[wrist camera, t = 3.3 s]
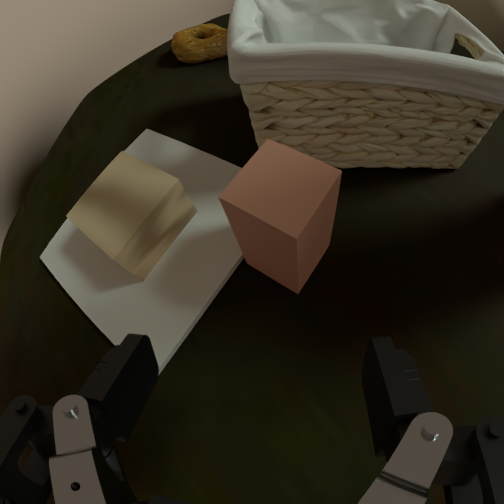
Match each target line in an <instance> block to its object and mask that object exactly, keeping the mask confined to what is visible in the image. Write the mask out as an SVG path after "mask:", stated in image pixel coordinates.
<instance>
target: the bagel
mask: <svg viewBox="0 0 504 504" xmlns="http://www.w3.org/2000/svg"><path fill="white" fill-rule="evenodd" d="M227 34H228V30H227V29H226V28H224V29H223V28H222V27H219V26H218V25H215V24H201V25H197V26H194V27H190V28H187V29H184V30H181V31H179V32H177V33H175V34H174V35H173V38H172V41H171V47H172V51H173V53H174V54H175V55H176V57H177V59H178V60H180V61H182V62H185V63H200V62H204V61H206V60H213V59H217V58H223V57H225V56H227V55H228V54H227Z"/></svg>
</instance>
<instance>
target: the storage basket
mask: <svg viewBox="0 0 504 504" xmlns="http://www.w3.org/2000/svg"><path fill="white" fill-rule="evenodd" d="M455 38H457V39H458V40H459V43H460V42H461V43H460V45H461V46H464V47H466V49H467V50H469V52H470V53H471V54H472V56H473V57H474V58H475V59H471V58H467V57H462V56H457V55H453V54H450V52H451V50H452V48H453V45H454V40H455ZM227 54H228V62H229V73H230V77H231V79H232V80H233V81H234V82H235V83H237V84H240V88H241V91H242V96H243V100H244V102H245V104H246V105H247V107H248V109H249V116H250V119H251V120H252V121H251V125H252V127H253V129H254V133H255V139H256V143H257V145H258V148H260V147H261V146H262V145H263V144H264V143H265V142H266V141H267V139H270V140H272V141H275V142H277V143H280V144H282V145H285V146H287V147H290V148H292V149H294V150H297V151H299V152H302V153H304V154H306V155H308V156H311V157H313V158H315V159H318V160H320V161H322V162H324V163H326V164H329V165H331V166H333V167H337V168H354V167H360V166H361V167H367V168H368V167H392V168H406V167H410V168H412V167H413V168H418V167H431V168H432V169H433V168H435V169H439V168H440V169H441V168H449V169H457V168H459V167H460V166H461V165H462V164H463V162H464V161H465V160H466V158H467V156H468V155H469V154H470V153H471V152H472V150H474V149H475V147H476V146H477V145H478V144H479V142H480V140H481V138H482V136H484V135H485V134H486V133H487V130H488V129H489V128H490V127H491V126H492V123H493V122H494V121H495V120H496V119H497V118H498V114H499V113H501V112H502V111H503V110H504V55H503V54H502V53H501V52H500V50H499V49H498V48H497V47H496V46H495V45H494V44H493V43H492V42H491V41H490V40H489V39H488V38H487V37H486V36H485V35H484V34H483V33H481V32H480V31H479V30H478V29H477V28H476V27H475V26H474V25H472V24H471V23H470V22H469V21H468V20H467V19H465V18H464V17H463V16H462V15H461V14H459V13H458V12H457V11H456V10H455V9H453V8H452V7H450V6H449V5H446V4H441V3H438V2H436V1H433V0H234V2H233V5H232V9H231V13H230V18H229V25H228V34H227Z"/></svg>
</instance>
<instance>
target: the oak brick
mask: <svg viewBox="0 0 504 504" xmlns="http://www.w3.org/2000/svg"><path fill="white" fill-rule="evenodd" d="M196 213H197V210H196V208H195V206H194V205H193V203H192V201H191V199H190V198H189V196H188V194H187V192H186V191H185V189H184V187H183V185H182V183H181V182H180V180H179V179H178V178H176V177H174V176H172V175H170V174H168V173H166V172H164V171H162V170H160V169H158V168H156V167H154V166H152V165H150V164H148V163H146V162H144V161H142V160H140V159H138V158H136V157H134V156H132V155H130V154H128V153H126V152H124V151H121V152H120V153H119V154H118V155H117V156H116V157H115V159H114V160H113V161H112V162H111V163H110V164H109V165H108V166H107V167H106V169H105V170H104V171H103V172H102V173H101V174H100V175H99V176H98V178H97V179H96V180H95V181H94V182H93V183H92V185H91V186H90V187H89V188H88V189H87V191H86V192H85V193H84V194H83V195H82V197H81V198H80V199H79V200H78V202H77V203H76V204H75V205H74V207H73V208H72V209H71V211H70V212H69V213H68V214H67V216H66V217H67V218H68V219H70V220H71V221H72V222H73V223H74V224H75V225H76V226H77V227H78V228H79V229H80V230H81V231H82V232H83V233H84V234H85V235H86V236H87V237H88V238H89V239H90V240H92V241H93V242H94V243H95V244H96V245H97V246H98V247H99V248H100V249H101V250H102V251H104V252H105V253H106V254H107V255H108V256H109V257H110V258H111V259H112V260H114V261H115V262H116V263H118V264H119V265H120V266H122V267H123V268H124V269H126V270H127V271H129V272H130V273H131V274H133V275H134V276H135V277H137V278H138V279H140V280H141V281H144V280H145V278H146V277H147V276H148V274H149V273H150V272H151V270H152V269H153V268H154V266H155V265H156V264H157V262H158V261H159V260H160V258H161V257H162V256H163V255H164V253H165V252H166V251H167V249H168V248H169V247H170V245H171V244H172V243H173V242H174V240H175V239H176V238H177V237H178V235H179V234H180V233H181V231H182V230H183V229H184V228H185V226H186V225H187V224H188V223H189V221H190V220H191V219H192V218H193V216H194V215H195V214H196Z"/></svg>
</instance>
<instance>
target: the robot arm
mask: <svg viewBox="0 0 504 504" xmlns="http://www.w3.org/2000/svg"><path fill="white" fill-rule="evenodd" d="M158 375H159V366H158V363H157V359H156V356H155V353H154V350H153V347H152V344H151V340H150V338H149V336H147V335H141V334H131V333H129V334H127V335H126V337H125V338H124V340H123V341H122V342H121V344H120V345H116V346H114V347H113V348H112V349H110V350H109V351H108V352H106V354H105V355H104V357H103V358H102V359H101V362H100V363H99V364H98V365H97V366H96V368H95V370H93V372H92V373H91V375H90V376H89V378H88V379H87V380H86V382H85V383H84V385H83V386H82V388H81V389H80V390H79V392H78V393H77V395H69V396H66V397H64V398H62V399H60V400H59V401H58V402H57V403H56V404H55V406H39V405H38V404H37V402H36V401H35V399H34V398H33V397H32V396H30V395H21V396H18V397H16V398H15V399H13V400H12V401H11V402H10V403H9V405H8V406H7V408H6V409H5V410H4V412H3V413H2V415H1V416H0V504H46V502H47V500H48V498H49V495H50V493H51V491H52V489H53V493H54V499H55V504H190V503H188V502H185V501H181V500H176V499H171V498H167V497H163V496H158V495H154V494H151V497H150V500H149V501H140V502H139V501H138V500H137V498H136V496H135V495H134V493H133V492H132V490H131V488H130V486H129V483H128V481H127V478H126V475H125V472H124V469H123V466H122V464H121V461H120V457H119V454H118V451H117V448H116V447H115V445H114V442H115V440H119V441H122V442H126V443H127V442H128V439H129V437H130V435H131V433H132V431H133V429H134V427H135V425H136V423H137V421H138V418H139V416H140V414H141V412H142V410H143V408H144V406H145V404H146V402H147V400H148V398H149V396H150V394H151V392H152V390H153V388H154V386H155V384H156V381H157V379H158ZM362 386H363V391H364V395H365V400H366V405H367V410H368V416H369V421H370V426H371V432H372V438H373V443H374V449H375V456H376V457H381V456H386V461H387V464H386V466H385V467H384V469H383V470H382V472H381V473H380V474H379V475H378V477H377V478H376V480H375V481H374V482H373V484H372V485H371V487H370V488H369V489H368V491H367V492H366V493H365V495H364V496H363V497H362V499H361V500H360V501H359V503H358V504H424V503H425V501H426V499H427V497H428V494H429V493H428V492H427V491H428V489H429V486H430V485H443V487H444V493H445V500H446V504H504V418H503V417H501V416H498V415H489V416H486V417H484V418H483V419H481V420H480V422H479V423H478V425H477V426H456V425H452V424H451V423H450V421H449V420H448V419H447V418H446V417H445V416H443V415H441V414H439V413H435V411H434V409H433V406H432V404H431V401H430V399H429V396H428V393H427V391H426V388H425V386H424V383H423V381H422V379H421V376H420V374H419V371H418V370H417V366H416V364H415V362H414V359H413V357H412V356H411V355H409V354H408V353H407V352H406V351H405V350H404V349H395V346H394V344H393V341H392V339H391V337H390V336H382V337H370V338H369V339H368V342H367V348H366V353H365V358H364V363H363V368H362ZM28 442H29V443H30V445H31V446H32V447H33V449H32V451H31V453H30V455H29V457H28V458H27V460H26V462H25V464H24V466H23V467H22V469H21V471H20V470H19V469H18V465H17V462H18V459H19V457H20V455H21V453H22V451H23V450H24V448H25V446H26V445H27V443H28Z"/></svg>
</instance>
